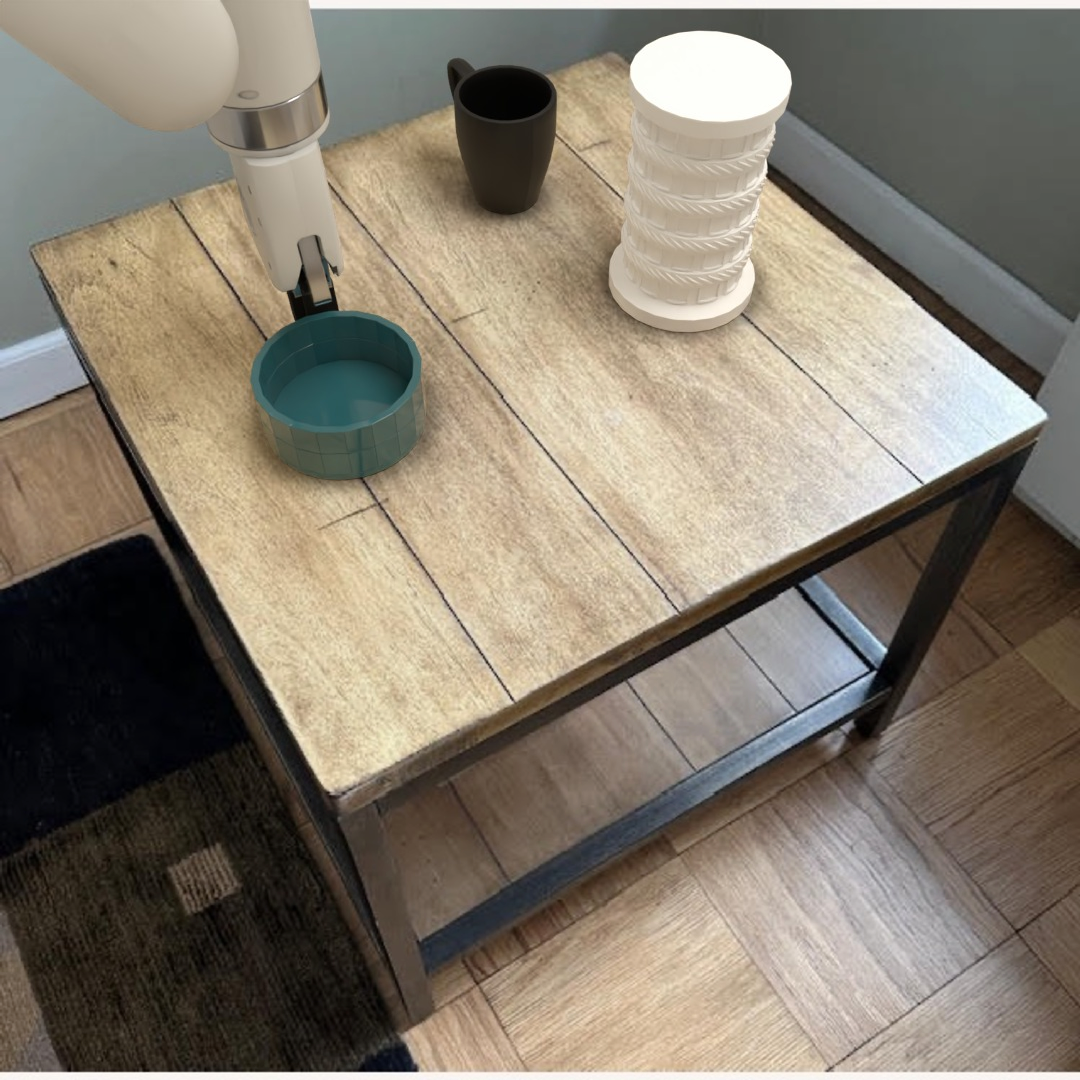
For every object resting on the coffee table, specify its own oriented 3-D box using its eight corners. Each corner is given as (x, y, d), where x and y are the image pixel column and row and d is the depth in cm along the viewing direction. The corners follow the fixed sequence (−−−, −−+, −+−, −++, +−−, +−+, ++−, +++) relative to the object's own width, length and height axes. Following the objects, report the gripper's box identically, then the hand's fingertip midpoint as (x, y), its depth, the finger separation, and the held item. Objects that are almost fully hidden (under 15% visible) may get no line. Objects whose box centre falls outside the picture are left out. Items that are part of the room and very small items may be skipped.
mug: (499, 132, 100) (497, 32, 92) (573, 203, 94) (577, 102, 86) (420, 162, 97) (411, 61, 89) (491, 236, 91) (488, 135, 83)
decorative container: (587, 252, 90) (598, 44, 75) (715, 223, 92) (750, 16, 78) (641, 347, 84) (665, 139, 69) (777, 313, 86) (828, 105, 71)
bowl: (255, 481, 76) (240, 433, 72) (274, 361, 82) (261, 311, 78) (424, 478, 76) (418, 430, 72) (428, 359, 83) (423, 309, 79)
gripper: (176, 50, 70) (243, 272, 85) (233, 188, 62) (296, 405, 77) (290, 23, 71) (336, 246, 86) (360, 154, 63) (397, 373, 79)
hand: (317, 320), depth 82 cm, fingers closed
